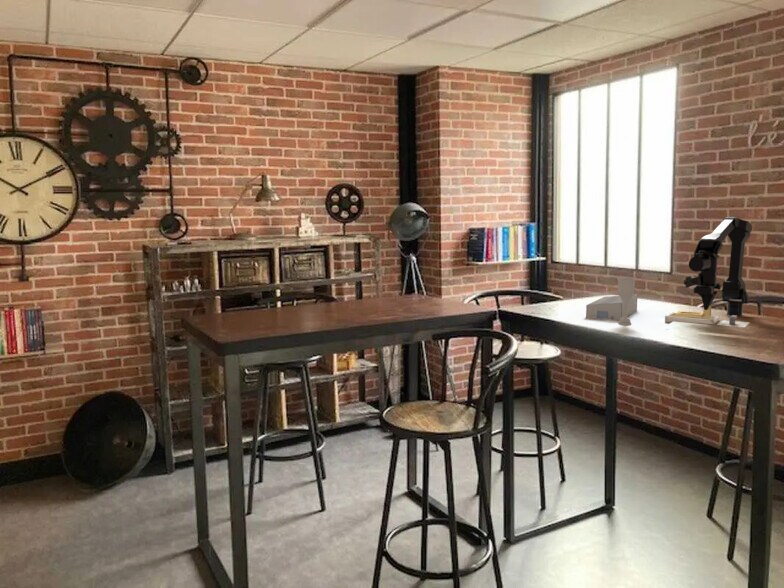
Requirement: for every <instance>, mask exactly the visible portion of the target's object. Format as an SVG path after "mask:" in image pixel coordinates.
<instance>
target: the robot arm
mask: <svg viewBox="0 0 784 588" xmlns="http://www.w3.org/2000/svg"><path fill="white" fill-rule="evenodd" d="M752 229H753V225H752V223H751V222H750V221H748V220H744V219H740V218H738V217H736V216H726V217H723V219H722V221H721V222H720V223H719V225H718V226H717V227H716V228H715V229H714V230H713V232H711V233H709V234H706V235H704V236H703V237H701V238H700V239H699V241H698V243H697V245H696V247H695V249H694V252H693V257H691V258H690V259H689V262H688V268H689V269H690V270H691V271H692V272H698V273H697V276H694V277H692V276H691V275H690V276H686V277H685V279H684V280H683V284H684V286H685V288H686V289H687V288H690V287H694V288H693V293H694V294H697V295H699V297H701V301H702V306H704V310H708V308H709V306H710V305H711V306H712V303H713V301H714V299H715V298H716V296H717V294H718V293H719V291H720V290H721V299H722V300H721V301H722V302H723V303H724V302H727V307H726V309H727V310H726V314H725V316H729V317H730V316H732V315H737V317H745V314H743V313H744V311H743V310H744V304H749V301H750V296H749V294H748V292H747V290H746V283H745V281H744V280H743V268H744V256H745V246H746V245H745V244H746V242H747V241H748V239H750V237H751V232H752ZM727 237H728V238H729V240H730V242H731V246H730V257H729V270H728V277H727V279H726V280H725V281H723V282H722V284H721V283H720V282H719V281H717V276H718V272H717V271H718V259H719V258H720V255H719V252H720V251H721V249H722V248H723V241H724V240H725V239H726V238H727ZM695 285H696V286H695ZM721 286H722V288H721ZM716 290H717V291H716ZM718 290H719V291H718Z"/></svg>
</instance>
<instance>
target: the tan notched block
mask: <svg viewBox="0 0 784 588" xmlns="http://www.w3.org/2000/svg"><path fill="white" fill-rule="evenodd" d="M702 306H703V305H702ZM702 308H703V309H702V311H684V310H683V311H681V310H678V311H676V312H674V313H675V316H679V317H698V318H702V317H711V316H712V304H711V305H710V306H709V308H708V310H704V306H703V307H702Z"/></svg>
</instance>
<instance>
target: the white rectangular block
mask: <svg viewBox="0 0 784 588" xmlns="http://www.w3.org/2000/svg"><path fill="white" fill-rule="evenodd" d="M737 318H738V316H737V315H732V316H729V320H724V319H723V320H721V321H719V322H718V323H717V324H716V326H724V327H734V328H746V327H747V326H748V325H749V324H750V323H751V322H749V321H739V320H738V321H737V320H736V319H737Z"/></svg>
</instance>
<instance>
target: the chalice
mask: <svg viewBox="0 0 784 588" xmlns="http://www.w3.org/2000/svg"><path fill="white" fill-rule="evenodd" d="M616 279H617V282H618V283H617V292H618V296H620V298H621V300H622V301H623V302H624V311H623V312H624V317H623V318H621V319H620V320H618V322H617V323H618V325H621V326H631V325H632V322H631V319H630V318H629V317H628V316H627V315H626V314H627V302H629V301H630V299H631V298H632V296H633V295H634V293H635V287H636V286H635V285H636V283H635V282H636V280H637V278H635V277H617V278H616Z"/></svg>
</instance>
